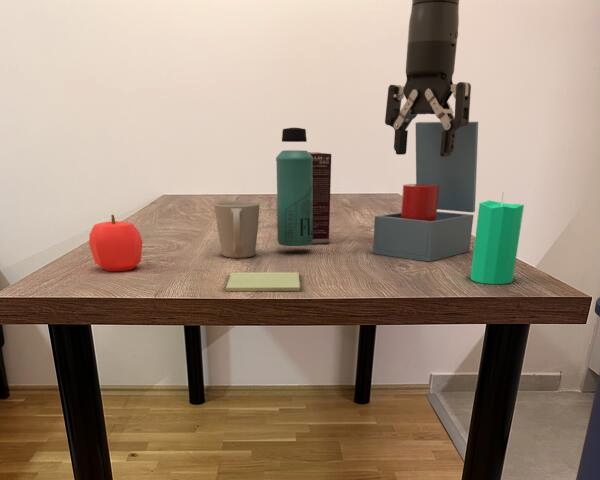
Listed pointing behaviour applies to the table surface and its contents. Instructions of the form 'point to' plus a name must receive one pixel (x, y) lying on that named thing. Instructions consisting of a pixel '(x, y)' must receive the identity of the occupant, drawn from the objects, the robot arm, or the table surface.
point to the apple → (115, 245)
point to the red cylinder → (420, 202)
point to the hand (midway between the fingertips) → (422, 155)
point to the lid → (448, 165)
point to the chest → (422, 236)
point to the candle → (496, 242)
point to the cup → (237, 227)
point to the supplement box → (321, 196)
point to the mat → (264, 281)
